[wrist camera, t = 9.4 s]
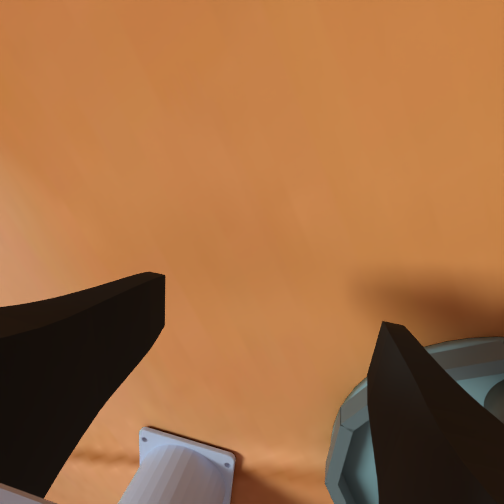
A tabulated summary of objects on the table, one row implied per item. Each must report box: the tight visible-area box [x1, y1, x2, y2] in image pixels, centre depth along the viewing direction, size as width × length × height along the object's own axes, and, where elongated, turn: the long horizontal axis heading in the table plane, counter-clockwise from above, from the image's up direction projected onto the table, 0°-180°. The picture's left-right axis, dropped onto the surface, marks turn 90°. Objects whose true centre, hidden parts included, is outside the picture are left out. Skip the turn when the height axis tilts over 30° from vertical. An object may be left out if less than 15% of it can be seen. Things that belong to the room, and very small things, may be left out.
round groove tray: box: [325, 337, 504, 504], centre depth 21 cm, size 19×19×2 cm
